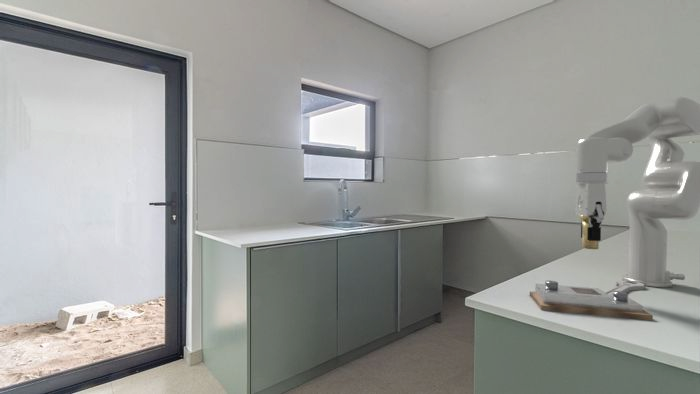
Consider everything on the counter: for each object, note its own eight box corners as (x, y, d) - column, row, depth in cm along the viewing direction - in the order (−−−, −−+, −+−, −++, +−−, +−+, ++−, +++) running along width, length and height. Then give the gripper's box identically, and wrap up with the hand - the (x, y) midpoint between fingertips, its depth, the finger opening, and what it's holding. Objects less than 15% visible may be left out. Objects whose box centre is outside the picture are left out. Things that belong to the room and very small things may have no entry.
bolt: (596, 246, 102) (597, 214, 102) (605, 250, 96) (605, 216, 96) (576, 246, 103) (576, 214, 103) (583, 249, 98) (583, 215, 98)
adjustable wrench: (610, 302, 93) (610, 296, 93) (584, 296, 99) (585, 290, 99) (647, 289, 106) (647, 283, 106) (622, 283, 111) (623, 278, 111)
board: (626, 303, 91) (626, 299, 91) (652, 320, 79) (652, 315, 79) (529, 295, 97) (529, 291, 97) (541, 309, 86) (541, 305, 86)
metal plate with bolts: (625, 301, 89) (626, 283, 89) (642, 311, 81) (643, 292, 81) (535, 293, 95) (535, 277, 95) (543, 303, 87) (543, 285, 87)
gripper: (567, 179, 108) (566, 235, 109) (588, 178, 92) (587, 243, 93) (593, 179, 106) (592, 235, 107) (620, 178, 90) (619, 244, 91)
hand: (590, 238), depth 100 cm, fingers closed on bolt, 4 cm apart
